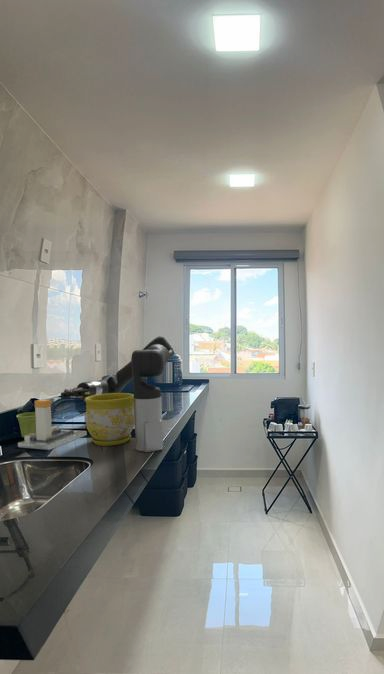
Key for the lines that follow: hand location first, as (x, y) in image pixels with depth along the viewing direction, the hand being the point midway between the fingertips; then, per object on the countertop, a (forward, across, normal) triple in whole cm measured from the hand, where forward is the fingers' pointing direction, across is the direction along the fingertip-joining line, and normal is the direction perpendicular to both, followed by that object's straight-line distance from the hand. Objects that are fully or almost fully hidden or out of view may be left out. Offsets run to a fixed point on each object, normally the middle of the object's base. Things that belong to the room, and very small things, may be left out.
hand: (62, 395), depth 153 cm
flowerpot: (+1, -23, -16) cm, 28 cm away
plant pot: (+2, +15, -16) cm, 22 cm away
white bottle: (+11, 0, -15) cm, 18 cm away
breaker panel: (+6, 0, -16) cm, 17 cm away
